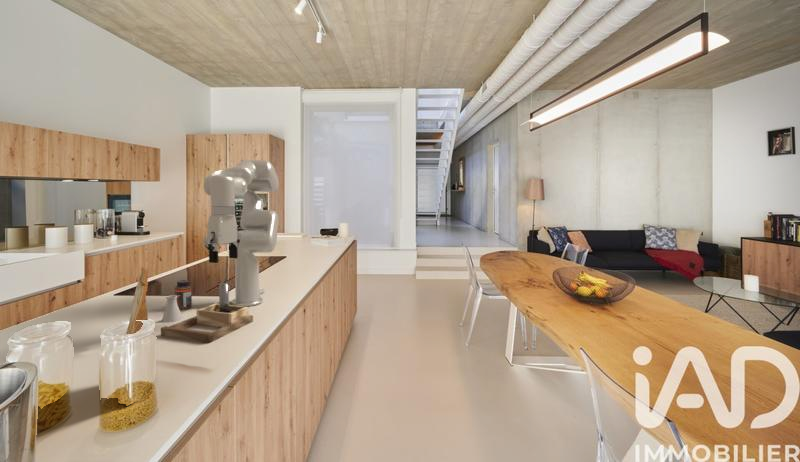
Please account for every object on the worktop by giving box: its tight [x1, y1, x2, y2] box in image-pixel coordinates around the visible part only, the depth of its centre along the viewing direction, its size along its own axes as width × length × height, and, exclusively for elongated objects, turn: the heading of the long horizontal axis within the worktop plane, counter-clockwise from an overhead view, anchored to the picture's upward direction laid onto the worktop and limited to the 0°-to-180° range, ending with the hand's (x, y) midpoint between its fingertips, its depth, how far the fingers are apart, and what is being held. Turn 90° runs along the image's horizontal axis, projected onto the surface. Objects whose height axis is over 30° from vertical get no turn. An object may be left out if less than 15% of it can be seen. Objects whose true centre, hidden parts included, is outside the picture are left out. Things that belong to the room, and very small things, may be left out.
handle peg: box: [218, 282, 230, 313], centre depth 130 cm, size 3×3×13 cm
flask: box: [161, 294, 184, 323], centre depth 132 cm, size 7×7×10 cm
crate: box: [196, 303, 249, 329], centre depth 130 cm, size 9×14×5 cm, turn 76°
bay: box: [160, 314, 254, 344], centre depth 124 cm, size 21×18×4 cm
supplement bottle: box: [174, 279, 193, 311], centre depth 150 cm, size 6×6×11 cm
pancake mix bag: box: [125, 266, 149, 335], centre depth 86 cm, size 7×19×28 cm, turn 27°
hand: (223, 260), depth 129 cm, fingers open, 9 cm apart
